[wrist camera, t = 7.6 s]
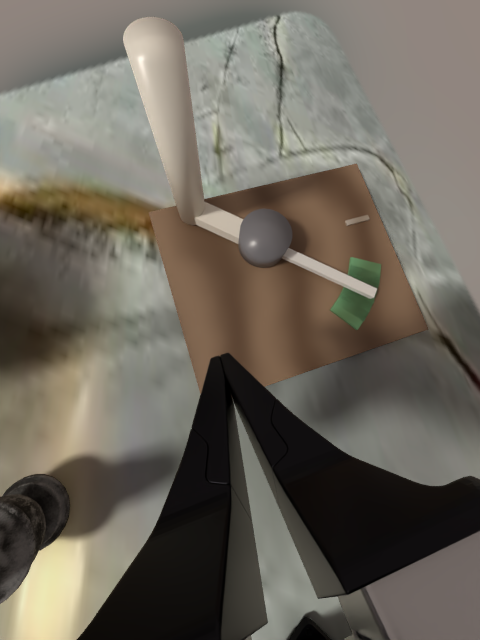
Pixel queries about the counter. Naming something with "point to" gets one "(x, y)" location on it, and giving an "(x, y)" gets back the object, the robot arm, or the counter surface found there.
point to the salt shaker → (28, 526)
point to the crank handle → (183, 161)
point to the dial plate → (288, 280)
